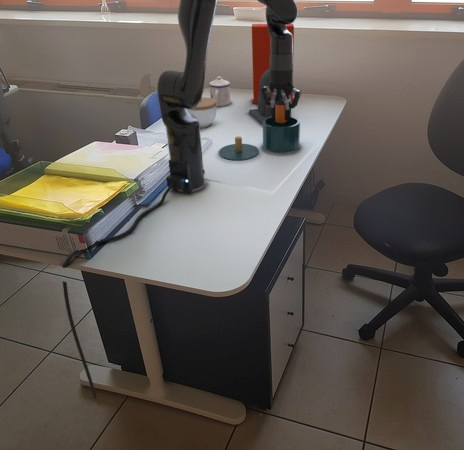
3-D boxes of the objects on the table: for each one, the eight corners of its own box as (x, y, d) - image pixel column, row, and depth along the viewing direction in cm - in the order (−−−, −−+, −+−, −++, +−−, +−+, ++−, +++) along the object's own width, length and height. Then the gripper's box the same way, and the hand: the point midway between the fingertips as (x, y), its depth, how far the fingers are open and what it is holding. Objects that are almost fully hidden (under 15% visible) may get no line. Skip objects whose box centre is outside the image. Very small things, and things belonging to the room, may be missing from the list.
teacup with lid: (213, 100, 212) (211, 74, 206) (232, 100, 211) (231, 74, 205) (206, 108, 202) (204, 81, 196) (227, 108, 201) (225, 81, 195)
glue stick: (284, 123, 156) (284, 101, 152) (273, 122, 157) (273, 100, 153) (288, 119, 159) (289, 98, 155) (277, 118, 160) (277, 96, 157)
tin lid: (248, 164, 151) (247, 147, 148) (211, 158, 155) (210, 141, 152) (265, 150, 161) (265, 133, 158) (230, 144, 166) (229, 128, 163)
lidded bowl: (179, 124, 185) (176, 96, 179) (206, 117, 192) (204, 90, 186) (197, 132, 177) (194, 103, 171) (224, 125, 183) (222, 97, 178)
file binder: (254, 98, 213) (252, 23, 196) (291, 98, 213) (292, 23, 196) (253, 104, 206) (251, 26, 189) (292, 103, 206) (293, 26, 189)
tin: (291, 156, 156) (292, 129, 151) (257, 151, 160) (256, 124, 155) (304, 143, 166) (305, 117, 161) (271, 138, 170) (271, 113, 165)
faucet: (300, 121, 186) (302, 70, 176) (264, 126, 181) (263, 74, 171) (282, 108, 201) (283, 60, 190) (248, 113, 196) (247, 64, 185)
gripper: (256, 67, 148) (257, 119, 157) (298, 71, 143) (296, 125, 152) (265, 62, 154) (266, 113, 163) (306, 66, 149) (304, 118, 158)
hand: (281, 118), depth 158 cm, fingers closed on glue stick, 4 cm apart
